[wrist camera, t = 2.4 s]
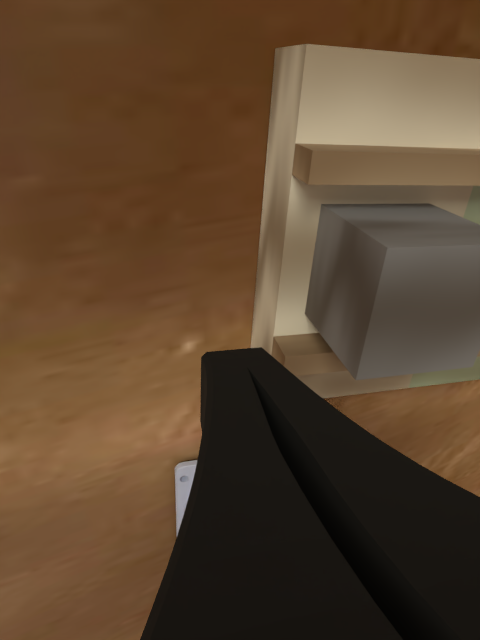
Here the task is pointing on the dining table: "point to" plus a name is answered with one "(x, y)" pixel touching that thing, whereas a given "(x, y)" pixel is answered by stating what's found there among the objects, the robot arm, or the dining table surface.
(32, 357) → the dining table surface
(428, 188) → the railed deck
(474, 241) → the charcoal block
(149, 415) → the dining table surface
